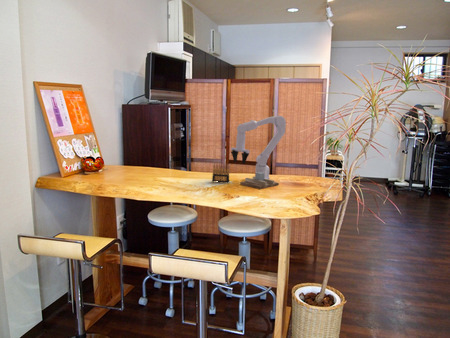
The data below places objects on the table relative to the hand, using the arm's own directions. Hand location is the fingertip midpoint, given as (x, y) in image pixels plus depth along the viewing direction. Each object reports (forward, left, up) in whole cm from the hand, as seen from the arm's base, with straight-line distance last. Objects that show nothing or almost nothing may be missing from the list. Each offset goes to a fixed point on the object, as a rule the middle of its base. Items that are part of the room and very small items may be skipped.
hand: (239, 162), depth 249 cm
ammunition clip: (+20, +2, -11) cm, 22 cm away
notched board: (+6, +22, -10) cm, 25 cm away
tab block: (+6, +22, -9) cm, 25 cm away
